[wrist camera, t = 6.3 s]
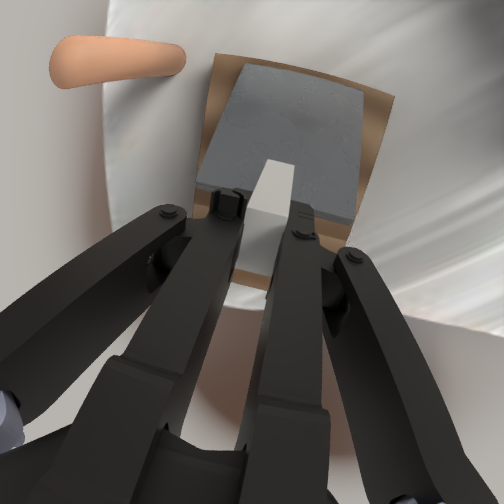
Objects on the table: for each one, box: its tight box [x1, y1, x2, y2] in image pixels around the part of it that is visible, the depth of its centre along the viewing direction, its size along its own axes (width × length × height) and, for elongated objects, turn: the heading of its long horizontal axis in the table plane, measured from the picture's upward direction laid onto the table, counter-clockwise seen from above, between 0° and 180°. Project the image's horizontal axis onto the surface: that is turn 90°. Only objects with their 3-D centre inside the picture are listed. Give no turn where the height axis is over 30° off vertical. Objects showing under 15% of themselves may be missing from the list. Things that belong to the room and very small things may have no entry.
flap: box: [195, 62, 364, 226], centre depth 20 cm, size 12×10×1 cm
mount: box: [192, 53, 395, 291], centre depth 30 cm, size 24×16×4 cm, turn 169°
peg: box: [49, 36, 186, 89], centre depth 20 cm, size 4×4×16 cm
